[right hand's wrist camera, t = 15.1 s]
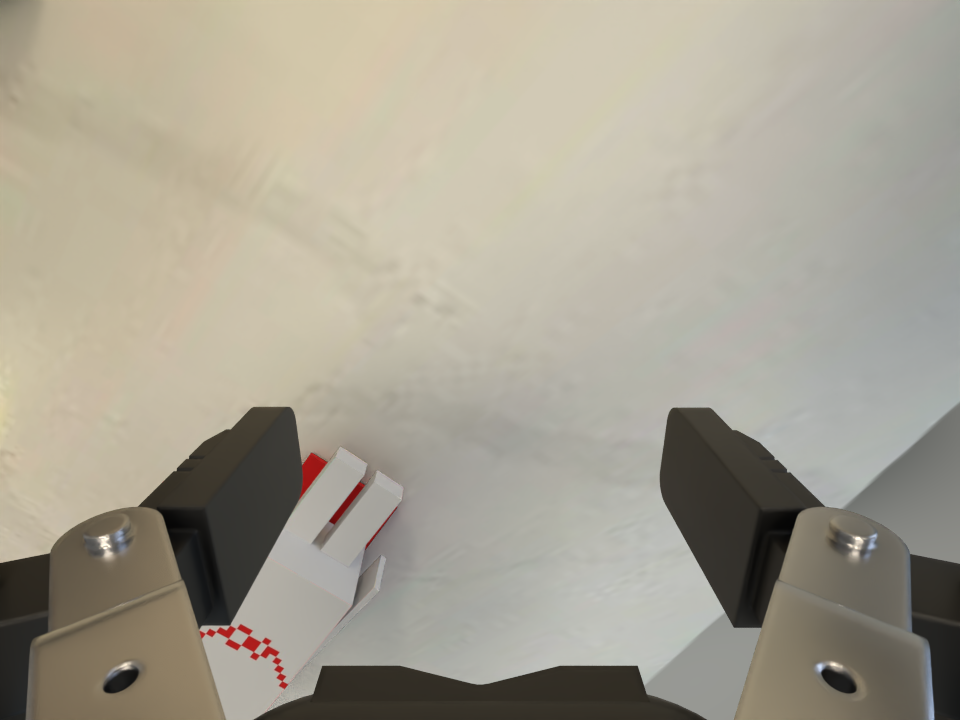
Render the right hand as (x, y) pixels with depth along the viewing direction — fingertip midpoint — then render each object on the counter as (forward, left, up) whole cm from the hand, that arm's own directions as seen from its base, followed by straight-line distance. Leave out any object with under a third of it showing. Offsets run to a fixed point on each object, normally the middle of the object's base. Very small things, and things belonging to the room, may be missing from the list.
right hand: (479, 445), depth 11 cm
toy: (+23, -25, -31) cm, 46 cm away
